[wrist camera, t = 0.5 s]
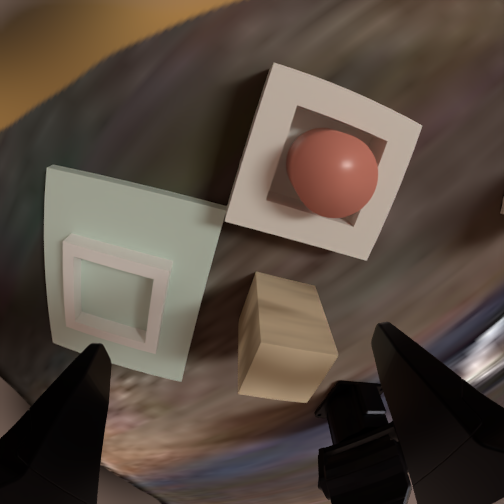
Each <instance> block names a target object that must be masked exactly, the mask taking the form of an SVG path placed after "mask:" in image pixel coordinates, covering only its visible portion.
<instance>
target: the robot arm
mask: <svg viewBox="0 0 504 504" xmlns="http://www.w3.org/2000/svg"><path fill="white" fill-rule="evenodd" d="M371 344H372V350H373V354H374V358H375V362H376V366H377V370H378V375H379V379H380V383H381V384H372V383H360V382H349V381H339V382H337V383H336V385H335V386H334V388H333V389H332V390H331V392H330V393H329V394H328V396H327V397H326V399H325V400H324V401H323V403H322V404H321V405H320V407H319V408H318V409H317V410H316V412H315V417H318V418H327V420H328V424H329V429H330V433H331V438H332V443H333V445H332V446H329V447H326V448H324V447H323V448H320V449H319V455H318V471H319V480H318V488H319V489H320V490H322V491H323V492H324V494H325V496H326V498H327V499H328V500H331V503H332V504H407V503H408V500H409V497H410V494H411V490H412V487H411V483H410V480H409V477H408V474H407V473H408V472H409V474H410V478H411V481H412V485H413V489H414V493H415V497H416V500H417V504H504V408H503V407H501V406H500V405H498V404H497V403H495V402H494V401H492V400H491V399H489V398H488V397H486V396H485V395H483V394H482V393H480V392H479V391H478V390H476V389H475V388H474V387H472V386H471V385H470V384H469V383H467V382H466V381H465V380H464V379H461V377H460V376H458V375H457V374H456V373H455V372H453V371H452V370H451V369H449V368H448V367H447V366H446V365H444V364H443V363H442V362H441V361H439V360H438V359H437V358H435V357H434V356H433V355H432V354H430V353H429V352H428V351H426V350H425V349H424V348H422V347H421V346H420V345H419V344H417V343H416V342H415V341H413V340H412V339H411V338H410V337H408V336H407V335H406V334H404V333H403V332H402V331H400V330H399V329H398V328H396V327H395V326H394V325H392V324H391V323H389V322H383V323H378V324H377V325H376V328H375V331H374V334H373V337H372V342H371ZM110 378H111V359H110V357H109V355H108V353H107V351H106V349H105V347H104V345H103V344H102V343H91V344H89V345H88V346H87V347H86V348H85V349H84V350H83V352H82V353H81V354H80V355H79V356H78V357H77V358H76V359H75V360H74V361H73V362H72V363H71V364H70V365H69V366H68V367H67V368H66V369H65V370H64V371H63V372H62V374H61V375H60V376H59V377H58V378H57V379H56V380H55V381H54V382H53V383H52V384H51V385H50V386H49V387H48V389H47V390H46V391H45V392H44V393H43V394H42V395H41V396H40V397H39V398H38V399H37V401H36V402H35V403H34V404H33V405H32V406H31V407H30V409H29V410H28V411H27V412H26V413H25V414H24V415H23V416H22V417H21V418H20V420H19V421H17V423H16V424H15V425H14V426H13V427H12V428H11V429H10V430H9V431H8V432H7V433H6V434H5V435H3V436H2V437H1V438H0V504H97V493H98V482H99V471H100V462H101V454H102V446H103V439H104V432H105V425H106V418H107V412H108V405H109V393H110ZM382 393H384V395H385V398H386V401H387V404H388V407H389V410H390V413H391V416H392V419H393V421H392V422H391V423H388V421H387V418H386V415H385V414H386V410H385V407H384V404H383V402H382V399H381V396H380V395H381V394H382Z"/></svg>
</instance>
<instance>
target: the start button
mask: <svg viewBox="0 0 504 504" xmlns="http://www.w3.org/2000/svg"><path fill="white" fill-rule="evenodd" d="M286 170H287V175H288V178H289V180H290V182H291V184H292V185H293V187H294V189H295V191H296V192H297V194H298V196H299V197H300V199H301V201H302V202H303V203H304V205H305V206H306V207H307V208H308V209H310V210H311V211H312V212H314V213H316V214H318V215H320V216H323V217H327V218H342V217H346V216H350V215H352V214H354V213H356V212H358V211H359V210H360V209H362V208H363V207H364V206H365V205H366V204H367V203H368V202H369V200H370V199H371V197H372V196H373V194H374V192H375V189H376V186H377V182H378V167H377V162H376V159H375V157H374V155H373V153H372V151H371V150H370V149H369V147H368V146H367V145H366V144H365V143H364V142H363V141H361V140H360V139H358V138H356V137H354V136H352V135H349V134H346V133H343V132H340V131H337V130H334V129H330V128H315V129H311V130H309V131H306V132H305V133H303V134H301V135H300V136H299V137H298V138H297V139H296V140H295V141H294V142H293V144H292V145H291V147H290V149H289V151H288V154H287V158H286Z"/></svg>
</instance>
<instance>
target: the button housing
mask: <svg viewBox="0 0 504 504" xmlns="http://www.w3.org/2000/svg"><path fill="white" fill-rule="evenodd" d="M315 128H330V129H334V130H337V131H340V132H343V133H346V134H349V135H352V136H354V137H356V138H358V139H360V140H361V141H363V142H364V143H365V144H366V145H367V146H368V147H369V149H370V150H371V151H372V153H373V155H374V157H375V159H376V162H377V167H378V182H377V186H376V189H375V192H374V194H373V196H372V197H371V199H370V200H369V202H368V203H367V204H366V205H365V206H364V207H363V208H362V209H360V210H359V211H358V212H356V213H354V214H352V215H350V216H346V217H342V218H327V217H323V216H320V215H318V214H316V213H314V212H312V211H311V210H310V209H308V208H307V207H306V206H305V205H304V203H303V202H302V201H301V199H300V197H299V196H298V194H297V192H296V191H295V189H294V187H293V185H292V184H291V182H290V180H289V178H288V175H287V170H286V158H287V154H288V151H289V149H290V147H291V145H292V144H293V142H294V141H295V140H296V139H297V138H298V137H299V136H300V135H301V134H303V133H305V132H306V131H309V130H311V129H315ZM421 128H422V125H420V124H418V123H416V122H415V121H413V120H411V119H409V118H407V117H405V116H403V115H401V114H399V113H397V112H395V111H393V110H391V109H389V108H387V107H385V106H383V105H381V104H379V103H377V102H375V101H373V100H370V99H368V98H366V97H364V96H362V95H359V94H357V93H355V92H352V91H350V90H348V89H345V88H343V87H341V86H338V85H336V84H333V83H331V82H328V81H325V80H323V79H320V78H317V77H315V76H312V75H309V74H306V73H304V72H301V71H298V70H295V69H292V68H289V67H286V66H283V65H280V64H276V63H273V65H272V66H271V67H270V69H269V72H268V75H267V78H266V81H265V84H264V87H263V90H262V93H261V96H260V99H259V102H258V106H257V109H256V112H255V115H254V118H253V121H252V124H251V128H250V131H249V134H248V137H247V141H246V144H245V147H244V150H243V154H242V157H241V160H240V163H239V167H238V170H237V173H236V177H235V180H234V184H233V187H232V190H231V194H230V197H229V201H228V204H227V209H226V216H225V222H228V223H232V224H236V225H240V226H243V227H247V228H251V229H255V230H258V231H262V232H266V233H269V234H273V235H277V236H280V237H284V238H288V239H291V240H295V241H299V242H302V243H306V244H309V245H313V246H317V247H320V248H324V249H327V250H331V251H334V252H338V253H341V254H345V255H348V256H352V257H355V258H359V259H362V260H366V261H367V259H368V257H369V255H370V253H371V251H372V248H373V246H374V244H375V242H376V240H377V238H378V235H379V233H380V231H381V229H382V227H383V224H384V222H385V220H386V218H387V215H388V213H389V211H390V208H391V206H392V204H393V201H394V199H395V197H396V194H397V192H398V189H399V187H400V184H401V182H402V179H403V177H404V174H405V172H406V169H407V167H408V164H409V161H410V159H411V156H412V153H413V151H414V148H415V145H416V142H417V140H418V137H419V134H420V131H421Z"/></svg>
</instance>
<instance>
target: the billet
mask: <svg viewBox="0 0 504 504" xmlns="http://www.w3.org/2000/svg"><path fill="white" fill-rule="evenodd" d="M338 356H339V355H338V352H337V349H336V346H335V343H334V340H333V337H332V334H331V331H330V328H329V325H328V322H327V319H326V316H325V313H324V310H323V308H322V305H321V302H320V299H319V296H318V293H317V290H316V288H315V286H313V285H309V284H305V283H300V282H296V281H292V280H288V279H284V278H280V277H276V276H272V275H268V274H264V273H260V272H256V273H255V275H254V278H253V281H252V284H251V287H250V290H249V292H248V295H247V298H246V301H245V304H244V306H243V309H242V312H241V315H240V318H239V320H238V394H242V395H248V396H255V397H261V398H268V399H276V400H284V401H293V402H302V403H307V402H308V401H309V399H310V398H311V396H312V395H313V393H314V392H315V390H316V389H317V388H318V386H319V385H320V383H321V382H322V380H323V379H324V377H325V376H326V374H327V373H328V371H329V370H330V368H331V367H332V365H333V364H334V362H335V360H336V359H337V357H338Z"/></svg>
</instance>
